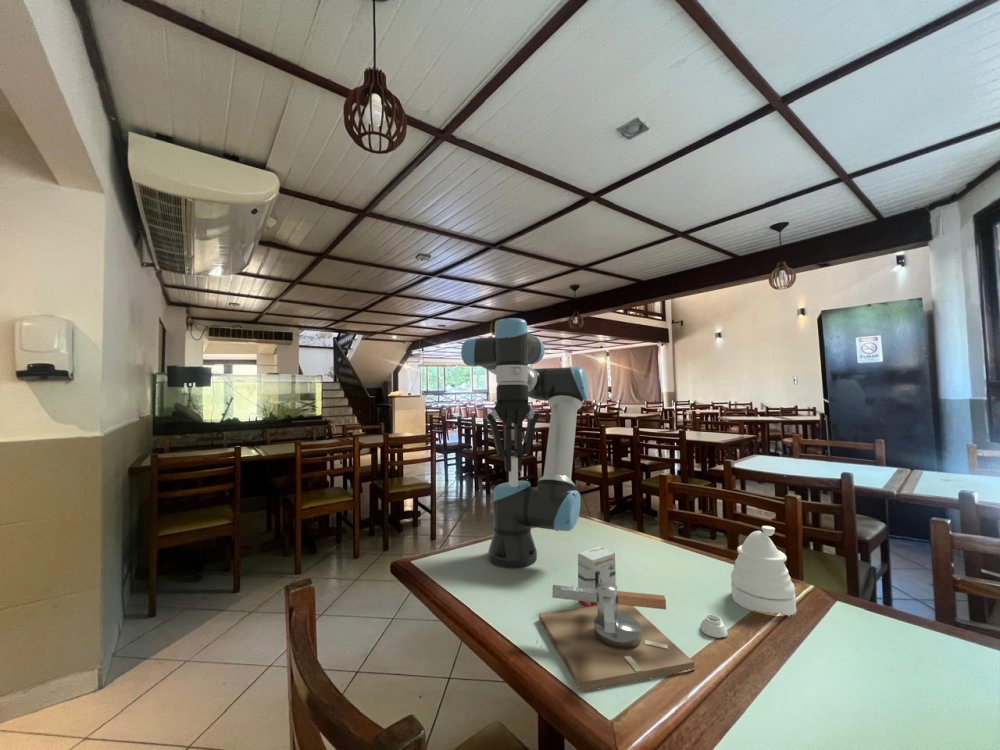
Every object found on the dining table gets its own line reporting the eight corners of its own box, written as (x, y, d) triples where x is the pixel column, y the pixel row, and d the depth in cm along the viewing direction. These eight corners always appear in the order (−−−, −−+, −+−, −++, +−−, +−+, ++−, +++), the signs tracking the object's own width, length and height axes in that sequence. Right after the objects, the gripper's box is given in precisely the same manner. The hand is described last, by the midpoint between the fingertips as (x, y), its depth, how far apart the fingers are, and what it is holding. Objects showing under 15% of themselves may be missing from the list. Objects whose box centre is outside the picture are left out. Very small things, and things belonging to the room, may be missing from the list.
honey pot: (799, 601, 93) (794, 525, 95) (792, 623, 84) (787, 538, 85) (738, 584, 102) (734, 515, 103) (725, 603, 93) (722, 526, 94)
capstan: (547, 660, 70) (547, 608, 71) (557, 600, 91) (556, 560, 92) (679, 679, 65) (676, 622, 66) (657, 610, 86) (655, 568, 87)
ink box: (592, 612, 90) (591, 559, 90) (577, 603, 94) (576, 552, 95) (617, 601, 94) (615, 551, 95) (601, 593, 98) (600, 545, 99)
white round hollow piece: (711, 623, 85) (695, 629, 83) (710, 609, 85) (694, 614, 83) (733, 636, 80) (716, 642, 78) (732, 621, 80) (715, 627, 78)
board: (539, 620, 86) (539, 612, 86) (628, 607, 91) (627, 600, 91) (581, 692, 65) (580, 681, 65) (694, 670, 70) (693, 660, 70)
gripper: (488, 383, 87) (489, 490, 85) (543, 383, 90) (545, 487, 88) (482, 384, 94) (483, 483, 92) (533, 384, 97) (535, 480, 95)
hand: (513, 485), depth 90 cm, fingers closed
